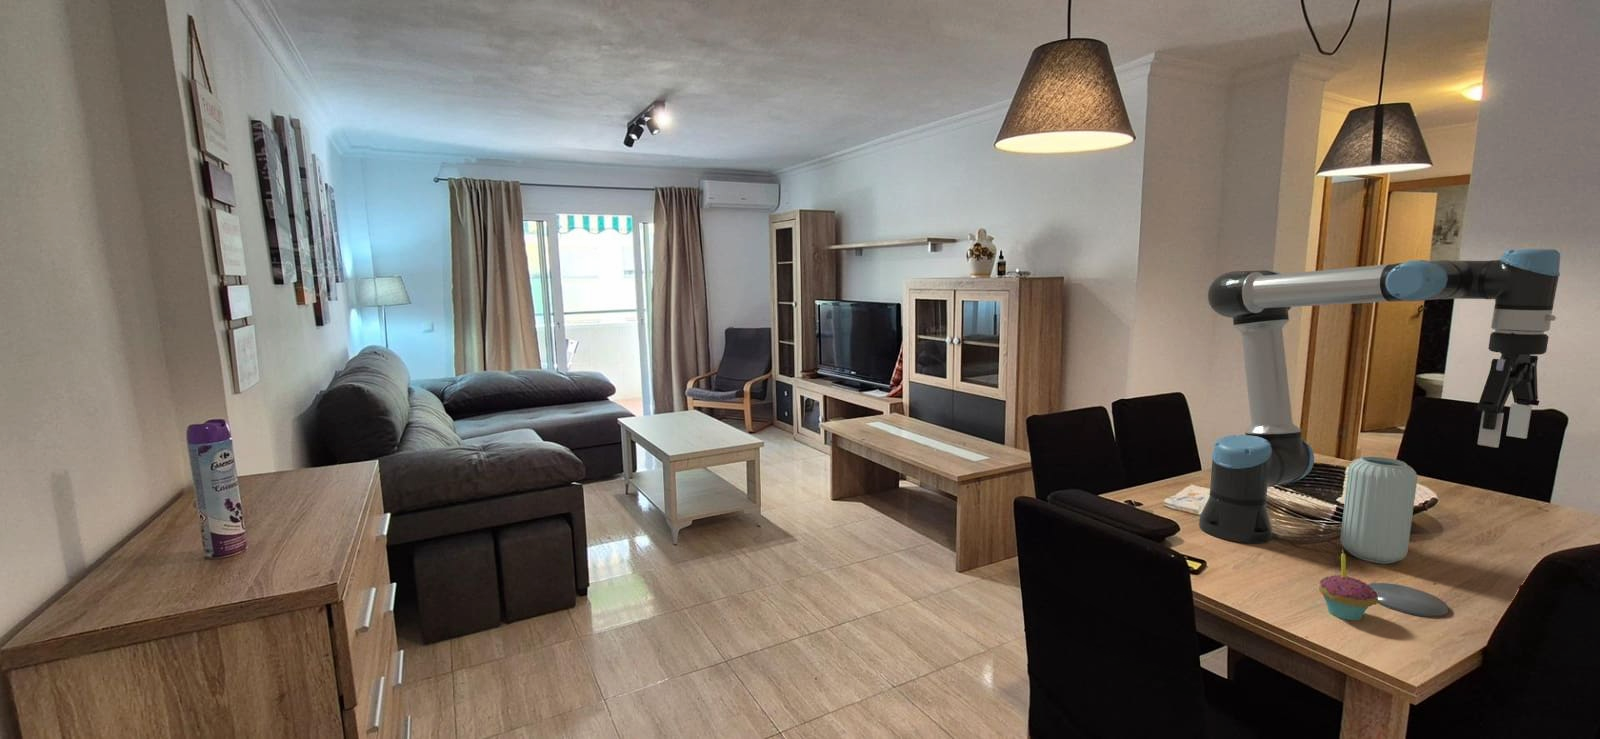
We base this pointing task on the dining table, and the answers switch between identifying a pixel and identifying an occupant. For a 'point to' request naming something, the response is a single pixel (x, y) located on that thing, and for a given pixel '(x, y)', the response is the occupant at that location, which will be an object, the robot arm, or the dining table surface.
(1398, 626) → the dining table surface
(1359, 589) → the cupcake
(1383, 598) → the coaster
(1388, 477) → the vase
